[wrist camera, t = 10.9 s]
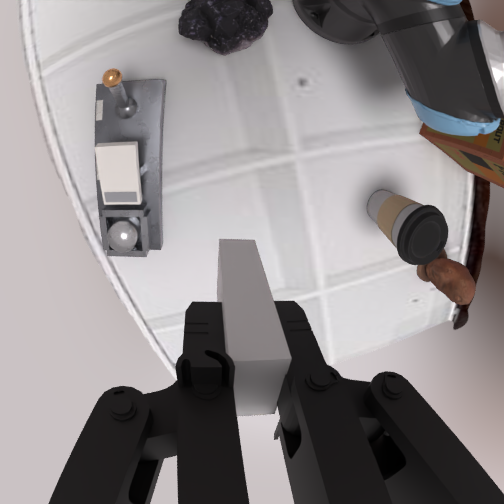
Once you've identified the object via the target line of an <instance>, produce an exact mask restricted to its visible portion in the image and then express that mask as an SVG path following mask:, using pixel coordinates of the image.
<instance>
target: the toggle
mask: <svg viewBox="0 0 504 504" xmlns="http://www.w3.org/2000/svg"><path fill="white" fill-rule="evenodd" d="M121 80H122V73H121V72H120V71H119V70H118V69H115V68H112V69H109V70H107V71H106V72H105V73H104V75H103V77H102V81H103V84H104V85H105V86H106V87H109V89H110V91H111V93H112V95H113V97H114V99H115V101H116V103H117V105H118V107H119V108H128V104H129V99H128V97H127V94H126V92H125V89H124V87H123V85H122V82H121Z"/></svg>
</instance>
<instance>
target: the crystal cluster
mask: <svg viewBox="0 0 504 504" xmlns="http://www.w3.org/2000/svg"><path fill="white" fill-rule="evenodd" d="M272 13H273V7H272V4H271V2H270V1H269V0H191V1H190V2H188V3H187V4H186V6H185V9H184V10H183V11H182V16H181V17H180V19H179V24H178V26H179V34H180V35H182V36H184V37H187V38H190V39H192V40H201V41H203V42H204V43H205V44H206V45H207V46H209V47H210V48H212V49H213V51H214V52H216V53H219V54H222V55H227V54H230V53H232V52H236V51H240V50H242V49H246V48H248V47H249V46H250V45H251V44H252V43H253V42H254V41H255V40H257V39H260V38H261V37H262V36H263V33H264V32H265V30H266V29H267V27H268V18H269V17H270V16H271V15H272Z"/></svg>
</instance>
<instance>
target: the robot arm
mask: <svg viewBox="0 0 504 504" xmlns="http://www.w3.org/2000/svg"><path fill="white" fill-rule="evenodd" d="M461 1H462V0H293V3H294V6H295V9H296V11H297V13H298V15H299V16H300V18H301V19H302V20H303V22H304V23H305V24H306V25H307V26H308V27H309V28H310V29H312V30H313V31H314V32H315V33H317V34H318V35H320V36H322V37H324V38H326V39H328V40H331V41H333V42H337V43H342V44H356V43H361V42H364V41H367V40H369V39H371V38H373V37H374V36H376V35H377V34H378V33H379V32H380V34H381V36H382V38H383V40H384V42H385V44H386V46H387V48H388V50H389V52H390V54H391V56H392V58H393V60H394V62H395V64H396V67H397V69H398V71H399V73H400V76H401V78H402V80H403V83H404V85H405V91H406V94H407V95H408V97H409V98H410V99H411V101H412V104H413V106H414V108H415V111H416V113H417V115H418V117H419V118H420V120H421V121H423V122H424V123H425V124H426V125H427V126H429V127H430V128H432V129H434V130H437V131H440V132H443V133H447V134H452V135H459V136H477V135H478V133H481V134H488V133H491V132H493V131H494V130H496V129H497V128H498V126H499V123H500V120H501V118H502V119H504V31H503V32H501V31H497V30H495V29H494V28H493V27H491V26H490V25H488V24H486V23H485V22H484V21H482V20H474V21H468V20H467V19H466V17H464V16H465V15H464V13H463V10H462V8H461V6H460V4H459V3H460V2H461ZM401 29H402V30H401ZM397 30H398V31H397ZM390 32H391V33H390ZM387 33H388V34H387ZM175 367H176V374H177V381H176V382H175V383H174V384H173V385H171V386H170V387H168V388H166V389H163V390H160V391H156V392H152V393H147V394H142V392H140V391H139V390H136V389H135V388H133V387H126V386H119V387H113V388H111V389H109V390H108V391H106V392H104V393H103V394H102V396H101V397H100V398H99V399H98V401H97V403H96V405H95V407H94V409H93V411H92V413H91V415H90V416H89V418H88V420H87V422H86V424H85V426H84V428H83V430H82V432H81V434H80V436H79V438H78V440H77V442H76V444H75V446H74V448H73V450H72V452H71V455H70V457H69V459H68V461H67V463H66V465H65V467H64V470H63V472H62V474H61V476H60V478H59V480H58V483H57V485H56V487H55V490H54V492H53V494H52V497H51V499H50V502H49V504H150V502H151V499H152V495H153V492H154V489H155V486H156V483H157V479H158V476H159V473H160V470H161V467H162V463H163V460H164V458H168V457H172V456H176V455H177V476H178V504H249V498H248V493H247V486H246V480H245V472H244V465H243V458H242V451H241V445H240V436H239V429H238V421H237V416H251V415H266V414H275V411H276V408H277V406H278V410H279V415H280V420H279V422H278V425H277V428H276V430H275V433H274V440H275V439H278V437H279V436H280V441H281V445H282V450H283V455H284V459H285V464H286V468H287V473H288V477H289V482H290V486H291V491H292V494H293V499H294V504H504V494H503V493H502V491H501V490H500V489H499V488H498V486H497V485H496V484H495V483H494V481H493V480H492V479H491V478H490V476H489V475H488V474H487V473H486V472H485V470H484V469H483V468H482V466H481V465H480V464H479V463H478V462H477V460H476V459H475V458H474V457H473V456H472V454H471V453H470V452H469V451H468V450H467V449H466V447H465V446H464V445H463V444H462V442H461V441H460V440H459V439H458V438H457V436H456V435H455V434H454V433H453V432H452V431H451V430H450V429H449V427H448V426H447V425H446V424H445V422H444V421H443V420H442V419H441V418H440V417H439V416H438V414H437V413H436V412H435V411H434V410H433V409H432V407H431V406H430V405H429V404H428V403H427V402H426V401H425V399H424V398H423V397H422V396H421V395H420V394H419V393H418V392H417V390H416V389H415V388H414V387H413V386H412V385H411V384H410V383H409V382H408V380H406V379H405V378H404V377H403V376H402V375H399V374H397V373H395V372H382V373H379V374H377V375H376V376H375V377H374V378H373V379H372V381H371V382H366V381H357V380H350V379H346V378H343V377H341V376H340V374H339V373H338V371H337V370H335V369H334V368H332V367H331V366H329V365H327V364H326V362H325V360H324V358H323V355H322V353H321V350H320V348H319V346H318V343H317V341H316V338H315V336H314V334H313V331H311V326H310V324H309V322H308V319H307V317H306V314H305V312H304V310H303V309H302V308H301V307H300V306H299V305H298V304H297V303H296V302H295V301H274V300H273V297H272V294H271V290H270V287H269V284H268V281H267V278H266V274H265V271H264V268H263V265H262V262H261V259H260V255H259V252H258V249H257V246H256V243H255V240H240V239H219V256H218V279H217V302H192V303H191V305H190V306H189V307H188V309H187V310H186V313H185V326H184V340H183V354H182V355H181V356H180V357H179V358H178V360H177V363H176V366H175Z"/></svg>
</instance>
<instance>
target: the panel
mask: <svg viewBox="0 0 504 504" xmlns="http://www.w3.org/2000/svg"><path fill="white" fill-rule="evenodd" d="M122 85H123V87H124V89H125V92H126V94H127V97H128V99H129V104H128V108H119V107H118V105H117V103H116V101H115V99H114V97H113V95H112V93H111V91H110V89H109V87H106V86H105V85H104V84H97V88H96V106H95V146H96V145H97V144H98V143H112V142H134V141H137V142H138V158H139V171H140V182H141V192H142V202H141V204H114V205H104V201H103V196H102V190H101V185H100V179H99V173H98V167H97V160H96V153H95V166H96V185H97V198H98V209H99V219H100V228H101V236H102V243H103V249H104V250H107V256H128V257H147V254H148V251H149V250H161V248H162V245H163V231H162V139H163V118H164V102H165V88H166V80H164V79H154V80H136V81H123V82H122ZM119 217H136V218H137V219H138V220H139V222H140V224H141V234H140V236H139V238H138V240H137V242H136V244H135V246H134V248H133V249H132V250H131V251H129V252H126V253H120V252H117V251H115V250H114V249H112V248H111V247H110V245H109V243H108V241H107V233H108V231H109V229H110V228H111V227H112V225H113V224H114V223H115V221H116V220H117V219H118V218H119Z"/></svg>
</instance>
